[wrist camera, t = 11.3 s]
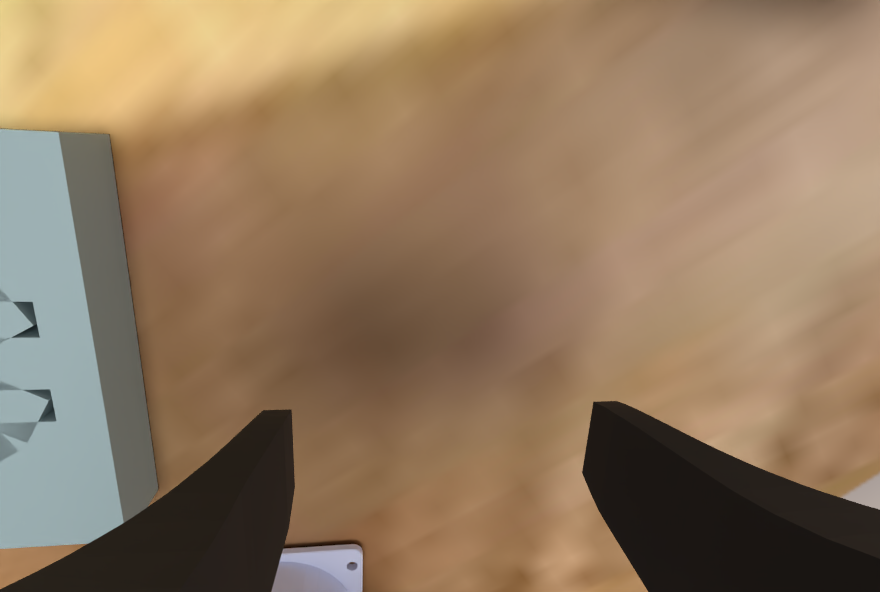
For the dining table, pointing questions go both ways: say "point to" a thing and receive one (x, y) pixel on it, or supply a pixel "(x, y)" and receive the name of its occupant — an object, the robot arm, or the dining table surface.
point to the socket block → (67, 347)
